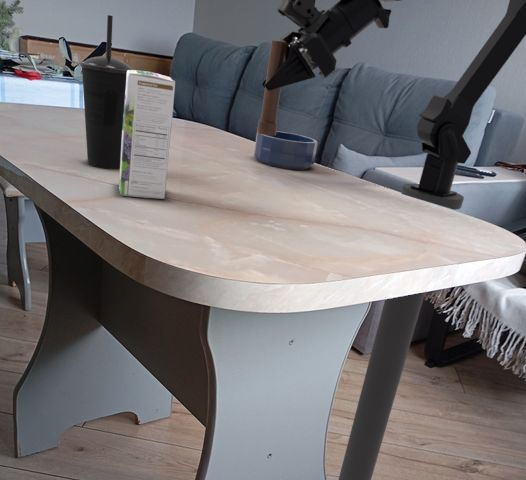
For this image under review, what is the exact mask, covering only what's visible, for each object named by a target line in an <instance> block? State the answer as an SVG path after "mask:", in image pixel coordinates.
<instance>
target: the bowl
mask: <svg viewBox="0 0 526 480" xmlns="http://www.w3.org/2000/svg"><path fill="white" fill-rule="evenodd" d="M318 143H319V141H317V139H314V138H312V137H309V136H305V135H301V134H296V133H292V132H286V131H281V130H280V131H278V130H277V131H276V135H275V136H270V135H263V134H259V133H257V132H256V137H255V143H254V150H253V157H254V158H255V159H257V161H258V162H259V163H261V164H264V165H267V166H271V167H276V168H279V169H287V170H298V171H299V170H300V171H301V170H303V171H304V170H308V169H309V168H311V167H313V166H315V165H314V164H315V159H316V154H317V148H318Z"/></svg>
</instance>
